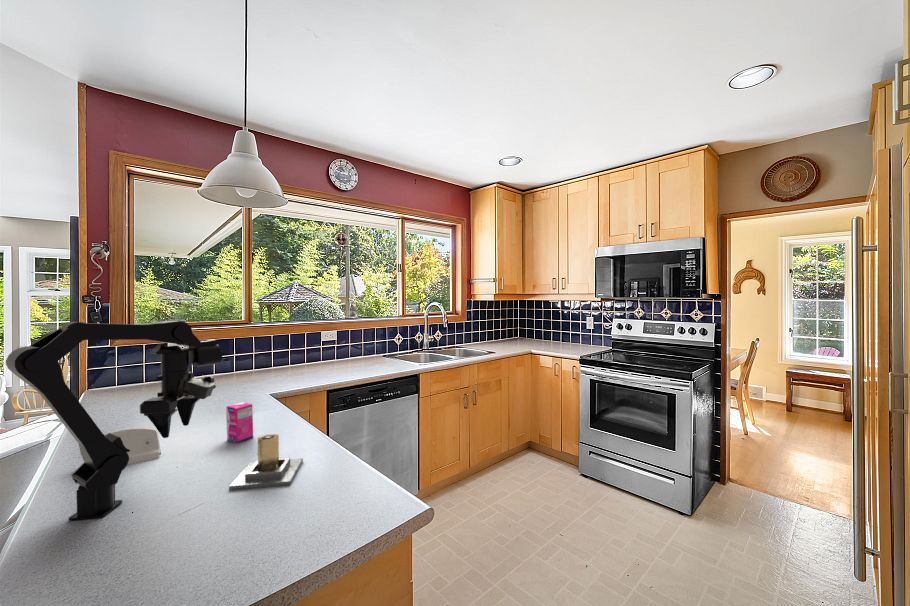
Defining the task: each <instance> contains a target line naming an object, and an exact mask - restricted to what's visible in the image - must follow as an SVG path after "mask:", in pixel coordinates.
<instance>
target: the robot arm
mask: <svg viewBox="0 0 910 606" xmlns="http://www.w3.org/2000/svg"><path fill="white" fill-rule="evenodd" d="M101 340H104V341H108V340H110V341H112V340H115V341H119V340H120V341H121V340H122V341H125V340H128V341H129V340H130V341H131V340H135V341H137V340H146V341H151V342H153V341H154V342H160V343H158V344H157V345H156V347H154V348H153V349H152V350H150V351H149V353H150V355H151V354H152V355H157V356H158V355H160V375H157V377H156V380H157V381H160V383H161V384H160V386H161V387H160V389H161V391H158V392H157V393H156V394H157V397H151V398H148V399H146V400H144V401H142V402H141V404H140V405H139V414H140V415H143V416H144V417H147V418H148V419H149V420H150V422H151V423H152V424H153V426H154V427H155V428H156V431H157V432H158V434H160V436H161V437H162V438H163V439H168V438H169V437H170V433H171V432H170V431H171V422H172V416H173V415H174V414H175V413H176V412H178V415H179V418H180V421H181V423H182V426H185V427H186V426H188V425H189V424H190V422H191V421H190V420H191V418H192V414H193V411H194V408H195V406H196V403H198V402H199V401H200V400H205V399H207V398H208V397H210V396H212V393H213V390H214V389H216V388H217V385H216V382H215V377H214V376H211V375H206V376H205V377H204V378H196V377H195V376H194V375H195V374H194V372H193V371H190V369H189V368H190V364H191V365H192V366H193V367H194V368H199V367H205V366H212V365H218V364H220V363H221V362H222V359H223V351H222V349H221V347H220V345H219V344H218V340H217V339H207V340H202V341H201V340H199V338H198V337H197V336H196V335H195V334H194V333H193V329H192V326H191V325H190V324H189V323H188V322H187V321H185V320H184V321H182V320H163V321H154V322H150V323H149V322H148V323H143V324H142V323H141V324H140V323H136V324H135V323H93V322H90V323H89V322H88V323H86V322H82V321H70V322H67V323H64V324H63V325H62V326H60V327H59V328H58V329H56V330H54V331H52V332H51V333H49V334H48V335H45V336H44V337H41V338H40V339H38V340H37V341H35V342H33V343H32V344H30V345H29V346H27V345H26V346H21V347H17V348H16V349H14V350H13V351H11V352H10V353H9V354H8V356H7V358H6V360H5V365H6V368H7V369H8V370H9V371H10V372H11V373H12V374H13V375H15V376H16V377H17V378H19V379H20V380H21V381H23V382H24V383H25V384H27V385H28V386H29V387H30V388H32V389H34V390H35V391H36V392H37V393H38V394H39V396H41V397H42V399H43V400H44V401H45V403H46V404H47V405H48V406H49V408H50V409H51V410H52V411H53V413H54V414H55V416H57V418H58V419H59V420H60V422H61V423H62V424H63V425H64V427H65V428H66V430H68V432H69V433H70V434H71V436H72V438H74V440H75V441H76V442H77V444H78V447H79V451H80V456H81V457H82V460H83V463H82V464H81V465H80V466H79V467H78V468H77V469H76V470H75V471H74V472H73V473H72V474H71V478H72V480H73V482H74V483H75V484H77V485H79V486H78V487H77V490H76V512H75V513H74V514H72V515H70V516H69V517H68V521H75V520H76V521H78V520H86V519H87V520H89V519H99V518H103V517H105V516H106V515H107V514H109V513H111V511H113V510H115V509H116V507H119V506H120V505H121V504H122V503H123V500H122V499H118V500H117V499H116V485H117V484H118V481H119V478H120V476H121V475H122V472H123V470H125V468H126V467H127V466H128V465H129V464H128V461H129V455H128V453H127V452H129V451H130V450H129V449H127V448H126V447H125V446H124V445H123V442H122V440H121V438H120V437H118V436H116V435H113V434H111V433H112V432H108V433H107V435H106V434H104V433H103V432H102V431H101V429H100V428H99V427H98V425H97V424H96V422H95V421H94V420H93V418H92V417H91V415H90V414H89V413H88V412H87V410H86V409H85V408H84V407H83V405H82V403H81V402H80V401H79V400H78V398H77V397H76V395H75V394H74V392H73V391H72V390H71V389H70V388H69V387H68V385H67V383H66V381H65V377H64V373H63V370H62V367H61V364H60V362H59V361H60V360H61V359H63V358H64V357H65V356H67V355H68V354H69V353H70V352H71V351H72V350H74V349H75V348H76V347H77V346H78V345H79V344H81V342H83V341H101ZM163 343H165V344H176V345H170V346H167V345H164V344H163ZM180 346H183V347H184V346H185V347H186V348H182V347H180ZM105 435H106V436H105ZM127 464H128V465H127Z"/></svg>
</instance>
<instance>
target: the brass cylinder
mask: <svg viewBox="0 0 910 606" xmlns="http://www.w3.org/2000/svg"><path fill="white" fill-rule="evenodd" d="M256 440H257V460H258V472H259V471H272V470H279V458H280V451H279V450H280V449H279V447H280V445H279V444H280V441H279V440H280V438H279V434H277V433H269V434H267V433H266V434H264V435H261V436H259V437H257V439H256Z"/></svg>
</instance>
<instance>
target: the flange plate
mask: <svg viewBox="0 0 910 606" xmlns="http://www.w3.org/2000/svg"><path fill="white" fill-rule="evenodd" d="M303 463H304V458H293V459H291V457H283V458H282V457H281V458H280V457H279V470H272V471H259V472H258V459H257V460H256V461H249V463H248V464H247V466H246V467H245V468H243V470H242V471H240V473H239V474H238V476H236V478H235V479H234V480H233V481H232V482H231V483H230V484H229V486H228V491H237V490H248V489H251V490H252V489H260V488H261V489H262V488H273V487H286V486H291V484H292V483H293V481H294V478H295V477H296V475H297V474H298V471H299V470H300V468H301V466H302V465H303Z"/></svg>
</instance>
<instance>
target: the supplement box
mask: <svg viewBox="0 0 910 606" xmlns="http://www.w3.org/2000/svg"><path fill="white" fill-rule="evenodd" d="M225 408H226V409H225V410H226V411H225V413H226V440H227V441H230V442H234V443H237V444H238V443H241V442H245V441H247V440H250V439H253V438H254V422H253V421H254V420H253V418H254V417H253V414H254V413H253V404H252V403H248V402H243V401H240V402H238V403H234V404H231V405H226V407H225Z"/></svg>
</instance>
